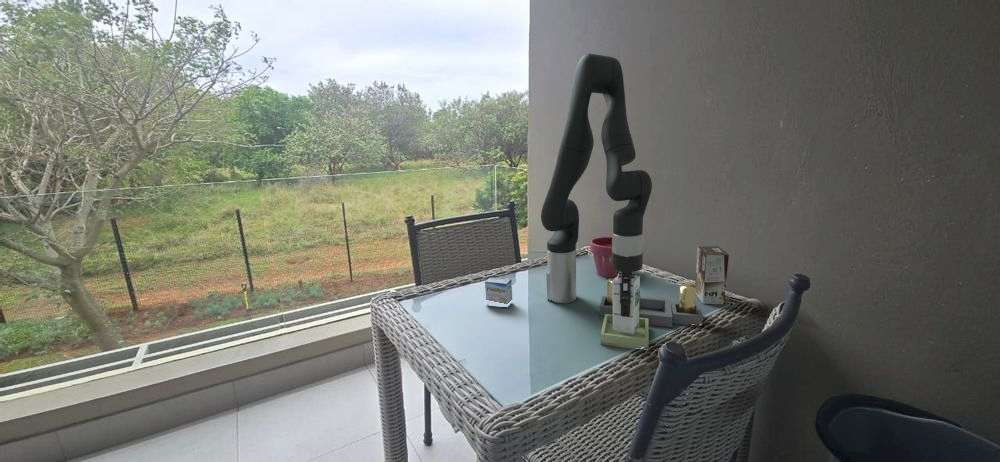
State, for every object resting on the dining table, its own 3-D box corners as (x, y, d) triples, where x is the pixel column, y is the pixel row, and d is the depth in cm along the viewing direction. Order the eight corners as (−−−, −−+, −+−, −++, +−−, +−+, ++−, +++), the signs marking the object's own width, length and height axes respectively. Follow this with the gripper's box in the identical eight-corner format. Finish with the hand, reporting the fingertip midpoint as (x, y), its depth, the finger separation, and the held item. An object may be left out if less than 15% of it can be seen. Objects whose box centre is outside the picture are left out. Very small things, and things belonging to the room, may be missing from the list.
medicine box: (486, 306, 125) (484, 281, 123) (491, 300, 129) (489, 276, 127) (508, 308, 122) (506, 283, 120) (513, 303, 126) (511, 278, 124)
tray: (600, 344, 99) (600, 334, 98) (604, 323, 110) (605, 313, 109) (648, 350, 95) (648, 340, 94) (648, 328, 106) (648, 318, 105)
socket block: (598, 318, 112) (598, 309, 112) (603, 301, 123) (603, 293, 122) (703, 330, 103) (704, 320, 102) (697, 310, 113) (698, 301, 113)
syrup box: (634, 335, 98) (636, 282, 94) (611, 330, 101) (612, 279, 97) (639, 325, 103) (641, 275, 99) (617, 320, 106) (618, 271, 102)
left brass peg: (606, 313, 115) (606, 282, 113) (607, 307, 119) (607, 277, 116) (620, 315, 114) (620, 284, 111) (620, 309, 118) (621, 278, 115)
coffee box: (725, 304, 116) (730, 254, 112) (702, 304, 117) (706, 254, 113) (715, 292, 125) (719, 245, 121) (693, 292, 126) (697, 245, 122)
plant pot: (635, 271, 147) (636, 239, 143) (618, 283, 137) (618, 249, 134) (601, 264, 156) (601, 234, 153) (583, 274, 147) (583, 243, 143)
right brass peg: (678, 321, 108) (680, 288, 106) (677, 314, 112) (679, 283, 109) (694, 322, 107) (696, 289, 104) (692, 316, 111) (695, 284, 108)
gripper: (613, 241, 104) (613, 297, 108) (609, 258, 91) (608, 321, 95) (643, 242, 102) (641, 300, 106) (642, 260, 89) (640, 325, 93)
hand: (625, 310), depth 101 cm, fingers closed on syrup box, 6 cm apart
